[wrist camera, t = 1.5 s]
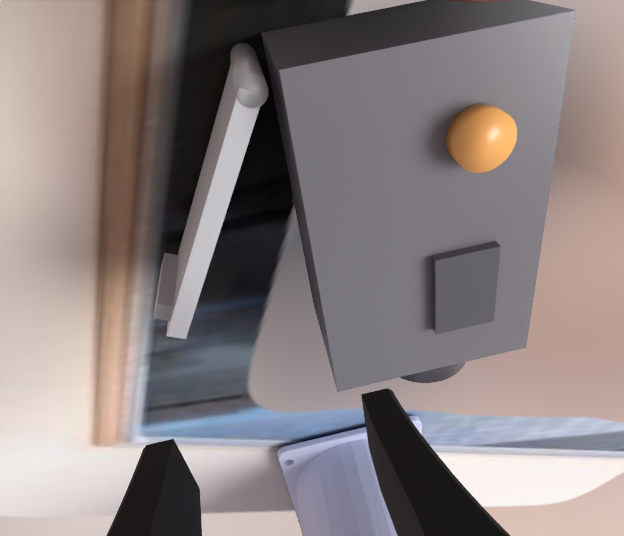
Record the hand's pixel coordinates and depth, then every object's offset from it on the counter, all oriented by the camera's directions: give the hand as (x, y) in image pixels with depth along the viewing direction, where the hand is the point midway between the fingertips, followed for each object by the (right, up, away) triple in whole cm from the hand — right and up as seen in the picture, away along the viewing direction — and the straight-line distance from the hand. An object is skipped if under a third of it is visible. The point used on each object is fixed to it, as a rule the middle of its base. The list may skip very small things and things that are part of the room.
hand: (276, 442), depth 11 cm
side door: (-3, +7, +5) cm, 10 cm away
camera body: (+3, +8, +7) cm, 11 cm away
